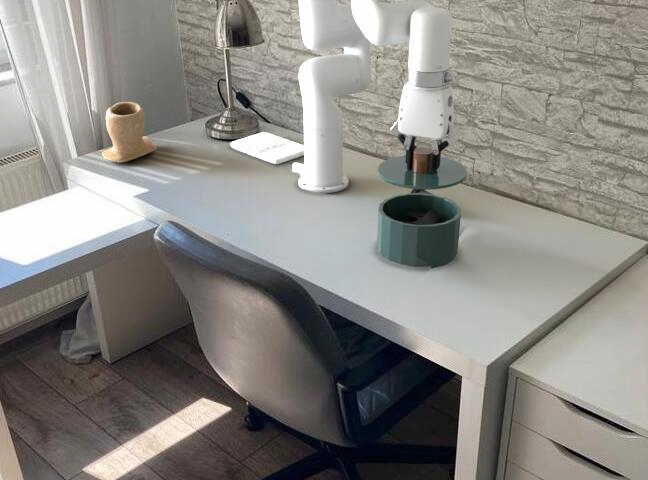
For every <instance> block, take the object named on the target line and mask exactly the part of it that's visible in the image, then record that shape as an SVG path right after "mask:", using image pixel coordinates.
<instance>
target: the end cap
mask: <svg viewBox="0 0 648 480" xmlns="http://www.w3.org/2000/svg"><path fill="white" fill-rule="evenodd" d="M406 217H408V218H413V219H416V220H417V221H415V222H408V221H401V222H403V223H407V224H415V225H433V224H439V223H442V220H441V217H440V216H439V215H438V214H437V213H436V212H435V211H433V210H429V211H428V212H427V213H421V212H415V211H409V212H408V214H407V215H406Z"/></svg>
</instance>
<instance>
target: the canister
mask: <svg viewBox="0 0 648 480" xmlns="http://www.w3.org/2000/svg"><path fill="white" fill-rule="evenodd" d="M432 194H433V193H431V194H424V193H410V192H408V193H401V194H396V195H393V196H390V197H388V198H384V200H383V201H382V202H380V204H379V205H378V213H377V236H376V237H377V238H376V239H377V241H376V242H377V243H376V249H377V251H378V253H379V254H380V255H381V256H382V257H383V258H384V259H386V260H388V261H390V262H392V263H394V264H395V263H396V264H398V265H401V266H407V267H413V268H414V267H415V268H416V267H417V268H418V267H430V269H434V268H439V267H443V266H446V265H448V264H450V263H452V262H453V261H454V260H455V259H456V257H457V255H458V250H459V240H460V229H461V219H462V208H461V207H460V206H459V205H458V204H457V202H455V201H453V200H452V199H449V198H447V197H444V196H441V195H437V194H433V195H432ZM429 210H433V211H435V212H436V213H437V214H438V215H439V216H440V217H441V220H442V223H439V224H433V225H415V224H407V223H403V222H401V221H408V222H415V221H417V220H416V219H413V218H408V217H406V215H407V214H408V212H409V211H415V212H421V213H427V212H428V211H429Z"/></svg>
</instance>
